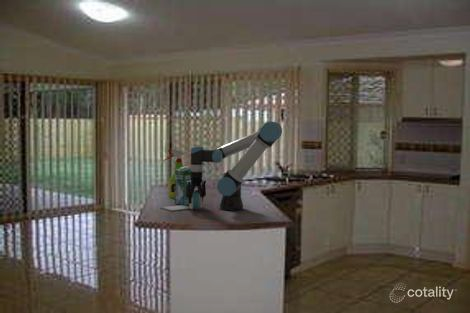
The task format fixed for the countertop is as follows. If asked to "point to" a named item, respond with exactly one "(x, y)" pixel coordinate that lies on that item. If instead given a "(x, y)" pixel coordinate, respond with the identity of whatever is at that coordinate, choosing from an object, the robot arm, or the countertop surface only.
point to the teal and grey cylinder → (196, 200)
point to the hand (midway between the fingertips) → (195, 208)
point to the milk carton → (182, 185)
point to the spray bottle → (177, 166)
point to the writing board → (175, 208)
